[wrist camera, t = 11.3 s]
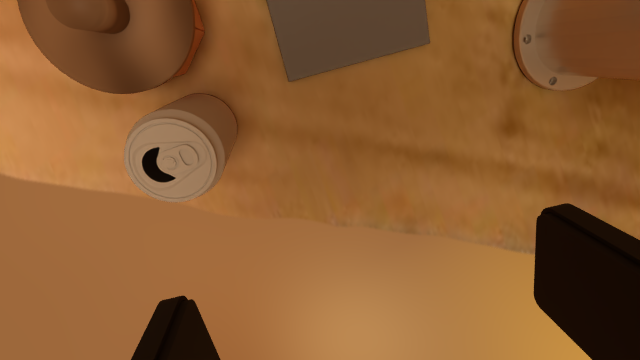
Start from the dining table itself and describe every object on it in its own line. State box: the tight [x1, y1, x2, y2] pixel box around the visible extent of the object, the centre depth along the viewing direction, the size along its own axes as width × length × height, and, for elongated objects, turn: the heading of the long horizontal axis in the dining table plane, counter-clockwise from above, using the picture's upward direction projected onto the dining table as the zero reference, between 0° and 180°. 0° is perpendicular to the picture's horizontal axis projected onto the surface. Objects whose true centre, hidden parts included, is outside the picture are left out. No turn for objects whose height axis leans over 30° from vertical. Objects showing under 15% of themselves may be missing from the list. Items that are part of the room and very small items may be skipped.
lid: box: [17, 0, 195, 94], centre depth 22 cm, size 11×11×6 cm
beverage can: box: [124, 94, 237, 202], centre depth 27 cm, size 6×6×12 cm
